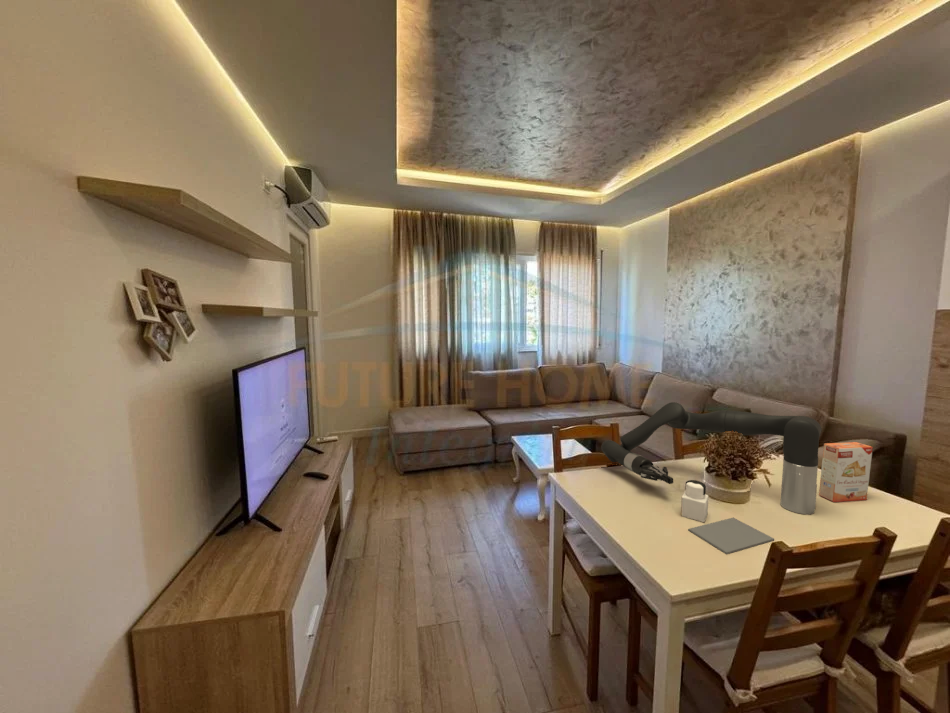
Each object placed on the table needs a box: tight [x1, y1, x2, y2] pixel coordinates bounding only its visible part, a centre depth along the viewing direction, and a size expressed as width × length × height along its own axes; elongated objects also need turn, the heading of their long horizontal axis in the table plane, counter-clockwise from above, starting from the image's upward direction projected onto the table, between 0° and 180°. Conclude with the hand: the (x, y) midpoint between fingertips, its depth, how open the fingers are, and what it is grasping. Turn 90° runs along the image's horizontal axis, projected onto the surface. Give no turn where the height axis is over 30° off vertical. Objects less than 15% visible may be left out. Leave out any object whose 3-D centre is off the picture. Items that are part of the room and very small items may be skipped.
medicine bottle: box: [680, 479, 709, 523], centre depth 129 cm, size 7×7×12 cm
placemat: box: [688, 517, 775, 555], centre depth 117 cm, size 20×13×1 cm, turn 108°
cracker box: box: [818, 441, 874, 503], centre depth 138 cm, size 14×6×21 cm, turn 95°
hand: (671, 481), depth 138 cm, fingers closed
